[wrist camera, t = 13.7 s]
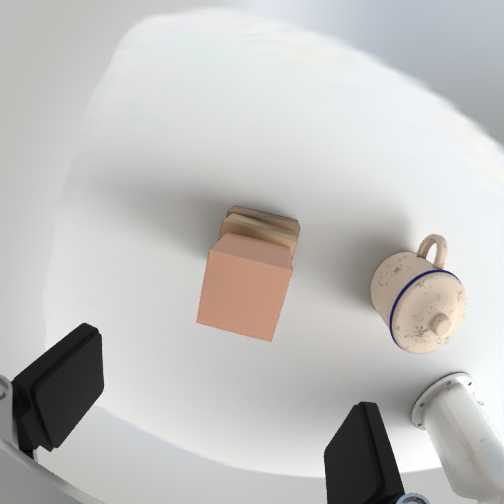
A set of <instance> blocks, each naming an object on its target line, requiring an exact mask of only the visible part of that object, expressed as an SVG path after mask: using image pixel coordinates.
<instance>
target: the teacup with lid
mask: <svg viewBox="0 0 504 504" xmlns="http://www.w3.org/2000/svg"><path fill="white" fill-rule="evenodd" d="M434 243H436V244H437V253H436V258H435V261H434V264H432V263H430V262H429V261H427V260H426V256H427V253H428V251H429V249H430V247H431V246H432V245H433V244H434ZM446 257H447V243H446V241H445V239H444V238H443V237H442V236H440V235H437V234H431V235H429V236H427V237H426V238H425V239H424V240H423V241H422V243H421V245H420V247H419V249H418V252H417V254H415V253H411V252H400V253H397V254H394V255H392V256H390V257H388V258H387V259H386V260H384V261H383V262H382V263H381V264H380V266H379V267H378V268H377V270H376V271H375V273H374V275H373V278H372V281H371V285H370V296H371V300H372V303H373V305H374V307H375V309H376V310H377V311H378V313H379V314H380V316H381V317H382V319H383V320H384V322H385V323H386V325H387V327H388V328H389V330H390V333H391V336H392V338H393V340H394V342H395V343H396V344H397V345H398V346H399V347H400V348H401V349H403V350H405V351H407V352H410V353H415V354H423V353H428V352H431V351H434V350H436V349H438V348H439V347H441V346H442V345H444V344H445V343H446V342H447V341H449V340H450V339H451V337H452V336H453V335H454V334H455V333H456V331H457V330H458V328H459V326H460V324H461V322H462V320H463V317H464V313H465V308H466V297H465V292H464V289H463V286H462V284H461V282H460V281H459V279H458V278H457V277H456V276H455V275H454V274H452V273H450V272H448V271H445V270H443V267H444V264H445V261H446Z"/></svg>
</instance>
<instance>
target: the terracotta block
mask: <svg viewBox="0 0 504 504" xmlns="http://www.w3.org/2000/svg"><path fill="white" fill-rule="evenodd" d="M292 271H293V269H292V261H291V253H290V247H287V246H283V245H279V244H275V243H271V242H267V241H263V240H259V239H255V238H251V237H247V236H243V235H239V234H235V233H231V232H227V233H226V234H225V235H224V236H223V237H222V238H221V239H220V240H219V241H218V242H217V243H216V244H215V245H214V246H213V247H212V248H211V249H210V250H209V255H208V260H207V265H206V271H205V276H204V281H203V287H202V292H201V298H200V303H199V309H198V315H197V320H196V322H197V323H201V324H204V325H208V326H211V327H215V328H218V329H222V330H226V331H230V332H234V333H237V334H241V335H245V336H249V337H253V338H258V339H262V340H266V341H270V342H271V341H272V338H273V334H274V331H275V328H276V325H277V321H278V318H279V315H280V312H281V308H282V305H283V302H284V298H285V295H286V292H287V288H288V285H289V281H290V278H291V274H292Z"/></svg>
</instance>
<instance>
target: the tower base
mask: <svg viewBox="0 0 504 504" xmlns="http://www.w3.org/2000/svg"><path fill="white" fill-rule="evenodd" d="M233 213H235V214H239V215H242V216H245V217H249V218H252V219H255V220H259V221H262V222H265V223H269V224H272V225H275V226H279V227H282V228H285V229H288V230H291V231H294V232H295V236H296V239H297V238H298V234H299V230H300V225H299V223H298V221H297V220H294V219H290V218H286V217H282V216H277V215H273V214H269V213H265V212H260V211H256V210H251V209H247V208H243V207H238V206H235V207H233V208H231V209H229V210H228V212H227V217H228V216H230V215H231V214H233ZM227 217H226V218H227ZM292 258H293V257H292ZM291 261H292V260H291Z"/></svg>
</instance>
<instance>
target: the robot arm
mask: <svg viewBox="0 0 504 504" xmlns="http://www.w3.org/2000/svg"><path fill="white" fill-rule="evenodd" d="M103 389H104V377H103V360H102V336H101V334H100V333H99V331H98V329H97V328H95V327H93V326H91V325H89V324H87V323H82V324H81V325H79V326H78V327H77V328H76V329H74V330H73V331H72V332H70V333H69V334H68V335H67V336H65V337H64V338H63V339H62V340H60V341H59V342H58V343H56V344H55V345H54V346H53V347H51V348H50V349H49V350H48V351H46V352H45V353H44V354H43V355H41V356H40V357H39V358H38V359H37V360H36V361H34V362H33V363H32V364H30V365H29V366H28V367H27V368H26V369H24V370H23V371H22V372H21V373H20V374H18V375H17V376H16V377H15V378H14V380H13V381H11V382H10V381H9V380H8V379H7V378H6V377H4V376H2V375H0V504H107V503H105V502H103V501H101V500H99V499H97V498H95V497H93V496H91V495H90V494H88V493H86V492H84V491H82V490H80V489H78V488H76V487H75V486H73V485H72V484H70V483H68V482H66V481H65V480H63V479H61V478H60V477H58V476H57V475H55V474H54V473H52V472H50V471H49V470H47V469H46V468H44V467H43V466H41V465H40V464H38V460H37V453H36V449H37V448H38V447H39V445H40V446H42V447H43V448H45V449H46V450H48V451H49V452H51V451H52V450H53V448H54V447H55V448H58V447H59V446H60V445H61V444H62V443H63V441H64V440H65V439H66V437H67V436H68V435H69V434H70V433H71V431H72V430H73V429H74V427H75V426H76V425H77V424H78V422H79V421H80V420H81V419H82V417H83V416H84V415H85V414H86V412H87V411H88V410H89V408H90V407H91V406H92V405H93V404H94V402H95V401H96V400H97V399H98V397H99V396H100V395H101V394H102V392H103ZM474 389H475V384H474V381H473V380H472V378H471V377H470V376H469V375H468V374H465V373H456V374H452V375H449V376H447V377H445V378H442V379H441V380H439V381H438V382H436V383H435V384H433V385H432V386H431V387H430V388H428V389H427V390H426V391H425V392H424V393H423V394H422V396H421V397H420V398H419V399H418V401H417V402H416V404H415V406H414V408H413V411H412V416H411V417H412V421H413V423H414V425H415V427H416V428H418V429H421V430H427V432H428V434H429V436H430V439H431V441H432V443H433V445H434V448H435V450H436V452H437V454H438V457H439V459H440V461H441V464H442V466H443V468H444V471H445V473H446V476H447V478H448V481H449V483H450V485H451V488H452V490H453V491H454V492H455V493H456V494H457V495H459V496H461V497H464V498H469V499H476V500H478V503H477V504H504V441H503V439H502V438H501V436H500V435H499V433H498V432H497V430H496V429H495V427H494V426H493V424H492V422H491V421H490V419H489V418H488V417H487V415H486V414H485V412H484V411H483V409H482V407H483V402H482V401H480V402H477V400H476V399H475V398H474V396H473V393H474ZM324 463H325V475H326V488H327V504H430V502H429V501H428V500H427V499H426V498H425V497H424V496H422V495H420V494H417V493H409V494H405V492H404V488H403V484H402V481H401V477H400V474H399V470H398V467H397V464H396V460H395V457H394V454H393V451H392V447H391V444H390V441H389V439H388V436H387V433H386V430H385V427H384V424H383V421H382V418H381V415H380V412H379V409H378V406H377V404H376V403H371V402H360V403H359V404H358V405H354V406H353V408H352V409H351V411H350V413H349V414H348V416H347V417H346V419H345V420H344V422H343V424H342V425H341V427H340V428H339V430H338V431H337V433H336V434H335V436H334V437H333V439H332V440H331V441H330V443H329V444H328V446H327V447H326V449H325V452H324Z"/></svg>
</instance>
